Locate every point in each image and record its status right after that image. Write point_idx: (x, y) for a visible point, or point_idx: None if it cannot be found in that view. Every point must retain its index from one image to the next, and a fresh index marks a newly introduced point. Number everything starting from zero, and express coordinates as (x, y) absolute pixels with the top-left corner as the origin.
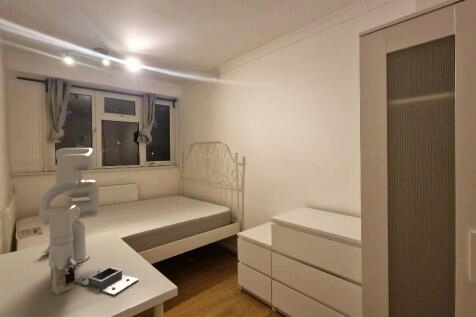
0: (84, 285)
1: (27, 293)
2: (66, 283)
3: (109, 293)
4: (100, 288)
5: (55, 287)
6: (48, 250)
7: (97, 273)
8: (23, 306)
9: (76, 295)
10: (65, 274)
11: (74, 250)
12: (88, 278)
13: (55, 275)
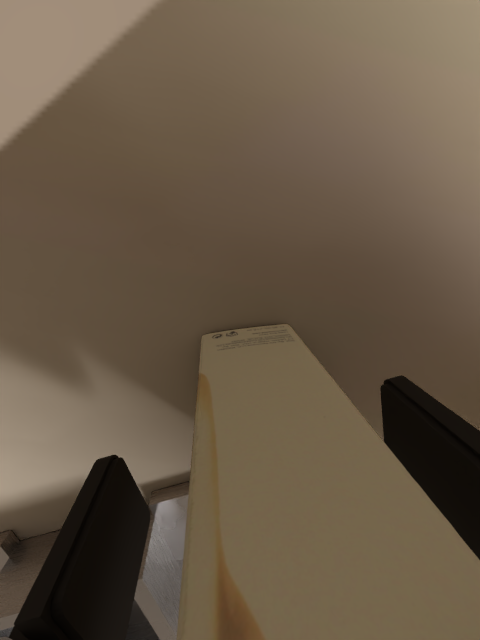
0: (172, 491)
1: (466, 173)
2: (95, 465)
3: None
4: (4, 553)
5: (223, 358)
6: None
7: (161, 627)
8: (241, 80)
9: (70, 426)
10: (38, 618)
11: None
12: (140, 570)
13: (226, 481)
